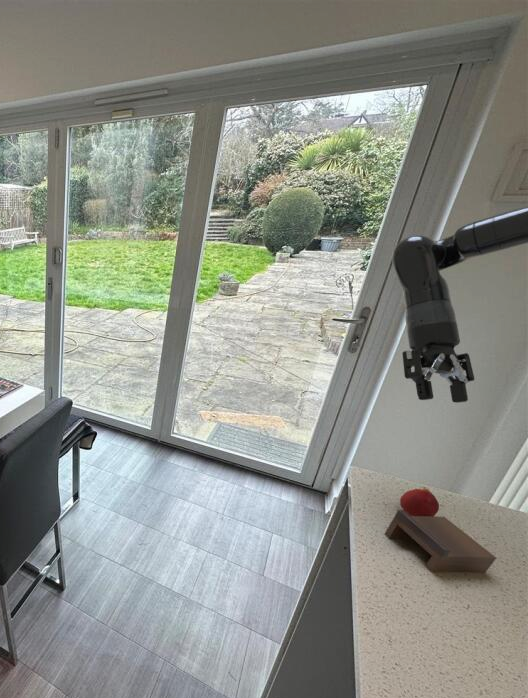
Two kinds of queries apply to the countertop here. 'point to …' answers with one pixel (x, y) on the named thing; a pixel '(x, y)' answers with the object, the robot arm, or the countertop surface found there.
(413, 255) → the robot arm
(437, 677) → the countertop surface
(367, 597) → the countertop surface
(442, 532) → the shelf
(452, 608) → the countertop surface
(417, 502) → the red rounded lump
